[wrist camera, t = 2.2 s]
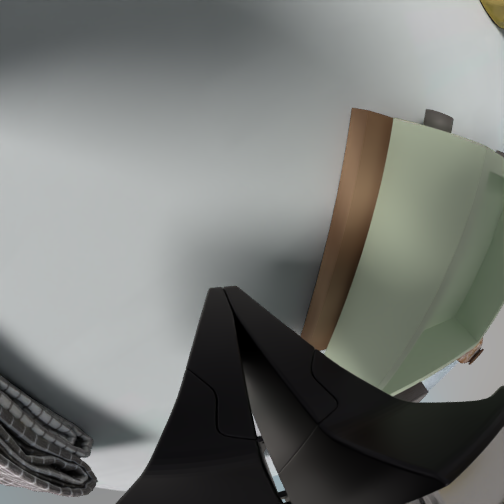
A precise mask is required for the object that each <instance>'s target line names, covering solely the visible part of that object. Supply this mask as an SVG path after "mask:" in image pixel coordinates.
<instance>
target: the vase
mask: <svg viewBox="0 0 504 504" xmlns="http://www.w3.org/2000/svg"><path fill="white" fill-rule="evenodd" d="M480 1H481V3H482V5H483V6H484V8H485V10H486V11H487V13H488V14H489V16H490V17H491V19H492V20H493V21H494V22H495V23H496V24H497V25H498V26H499V27H501V28H503V29H504V0H480Z"/></svg>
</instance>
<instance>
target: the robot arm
mask: <svg viewBox="0 0 504 504" xmlns="http://www.w3.org/2000/svg"><path fill="white" fill-rule="evenodd" d="M252 413H253V416H254V418H255V421H256V423H257V426H258V428H259V431H260V433H261V436H262V438H259V439H257V435H256V430H255V425H254V421H253V416H252ZM266 448H267V450H268V452H269V455H270V457H271V459H272V461H273V464H274V466H275V468H276V470H277V473H279V474H278V475H279V477H280V480H281V482H282V484H283V486H284V488H285V491H282V492H278V491H277V489H276V486H275V484H274V481H273V478H272V476H271V473H270V470H269V467H268V465H267V462H266V459H265V456H264V454H263V453H264V451H265V449H266ZM282 499H285V501H286V502H285V503H283V502H282ZM116 504H504V386H501V387H500V388H499V389H498V390H497V391H496V392H495V393H494V394H493V395H492V396H491V397H489V398H487V399H482V400H477V401H466V402H442V403H417V402H408V401H404V400H401V399H398V398H395V397H393V396H391V395H389V394H387V393H386V392H384V391H382V390H380V389H378V388H377V387H375V386H373V385H371V384H369V383H368V382H366V381H364V380H362V379H361V378H359V377H357V376H356V375H354V374H352V373H351V372H349V371H347V370H346V369H344V368H343V367H341V366H339V365H338V364H337V363H335V362H334V361H332V360H331V359H330V358H328V357H327V356H325V355H324V354H323V353H321V352H320V351H319V350H317V349H315V348H314V347H313V346H312V345H311V344H309V343H308V342H307V341H305V340H304V339H303V338H302V337H300V336H299V335H298V334H296V333H295V332H294V331H293V330H291V329H290V328H289V327H287V326H286V325H285V324H284V323H282V322H281V321H280V320H278V319H277V318H276V317H275V316H273V315H272V314H271V313H270V312H268V311H267V310H266V309H265V308H263V307H262V306H261V305H260V304H258V303H257V302H256V301H255V300H253V299H252V298H251V297H250V296H248V295H247V294H246V293H245V292H244V291H242V290H241V289H240V288H239V287H237V286H227V287H224V288H222V287H215V288H209V290H208V293H207V296H206V300H205V303H204V307H203V310H202V313H201V317H200V320H199V324H198V327H197V331H196V334H195V338H194V341H193V345H192V348H191V352H190V356H189V359H188V363H187V366H186V370H185V373H184V377H183V381H182V384H181V387H180V390H179V393H178V397H177V399H176V402H175V404H174V407H173V409H172V412H171V415H170V417H169V419H168V421H167V424H166V426H165V428H164V430H163V433H162V435H161V437H160V439H159V442H158V444H157V446H156V448H155V451H154V453H153V455H152V457H151V459H150V461H149V463H148V465H147V467H146V468H145V470H144V471H143V473H142V474H141V476H140V477H139V478H138V479H137V481H136V482H135V483H134V484H133V485H132V486H131V487H130V488H129V490H128V491H127V492H126V493H125V494H124V495H123V496H122V497H121V498H120V499H119V501H118V502H117V503H116Z"/></svg>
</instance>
